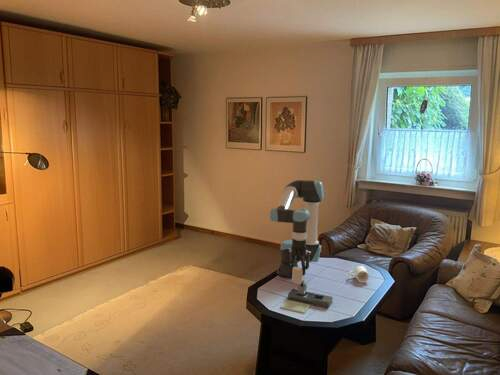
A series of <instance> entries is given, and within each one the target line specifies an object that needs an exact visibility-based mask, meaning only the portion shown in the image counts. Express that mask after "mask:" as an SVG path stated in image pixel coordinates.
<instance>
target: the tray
mask: <svg viewBox="0 0 500 375" xmlns="http://www.w3.org/2000/svg"><path fill="white" fill-rule="evenodd" d="M310 307H311V304H306V303H301V302H297V301H292V300H288V299H286V300H285V301H283V303H282V305H280V307H279V308H280V309H282V310H283V309H284V310H287V311H291V312H297V313H300V314H306V312H307V311H308V309H309V308H310Z"/></svg>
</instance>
